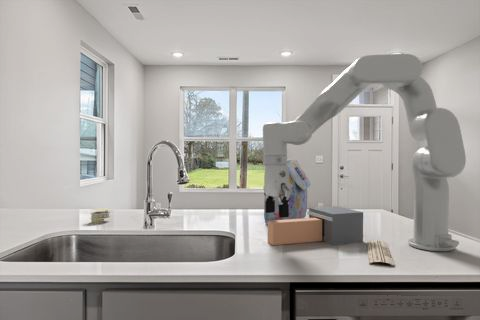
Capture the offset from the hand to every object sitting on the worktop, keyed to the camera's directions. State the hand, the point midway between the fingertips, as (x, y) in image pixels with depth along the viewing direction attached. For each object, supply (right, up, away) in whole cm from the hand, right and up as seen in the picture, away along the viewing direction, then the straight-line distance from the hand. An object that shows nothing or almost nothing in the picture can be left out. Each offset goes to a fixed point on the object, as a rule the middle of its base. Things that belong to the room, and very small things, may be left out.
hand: (276, 214), depth 111 cm
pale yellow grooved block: (-70, -9, +35) cm, 79 cm away
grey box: (+21, -9, +8) cm, 24 cm away
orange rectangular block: (+6, -9, +3) cm, 12 cm away
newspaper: (+29, -11, -10) cm, 33 cm away
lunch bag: (+9, -9, +38) cm, 40 cm away
